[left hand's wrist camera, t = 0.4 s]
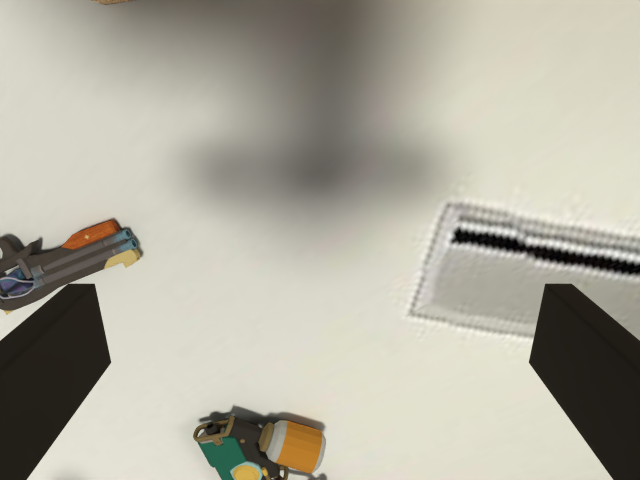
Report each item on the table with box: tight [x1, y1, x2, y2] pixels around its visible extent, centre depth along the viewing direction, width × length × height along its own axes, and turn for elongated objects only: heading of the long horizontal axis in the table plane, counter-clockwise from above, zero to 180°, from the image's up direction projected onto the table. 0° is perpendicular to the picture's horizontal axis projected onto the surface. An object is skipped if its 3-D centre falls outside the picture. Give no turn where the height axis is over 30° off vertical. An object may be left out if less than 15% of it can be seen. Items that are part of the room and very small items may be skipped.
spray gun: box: [193, 416, 326, 480], centre depth 47 cm, size 4×17×15 cm
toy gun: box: [0, 220, 140, 315], centre depth 39 cm, size 3×19×10 cm
